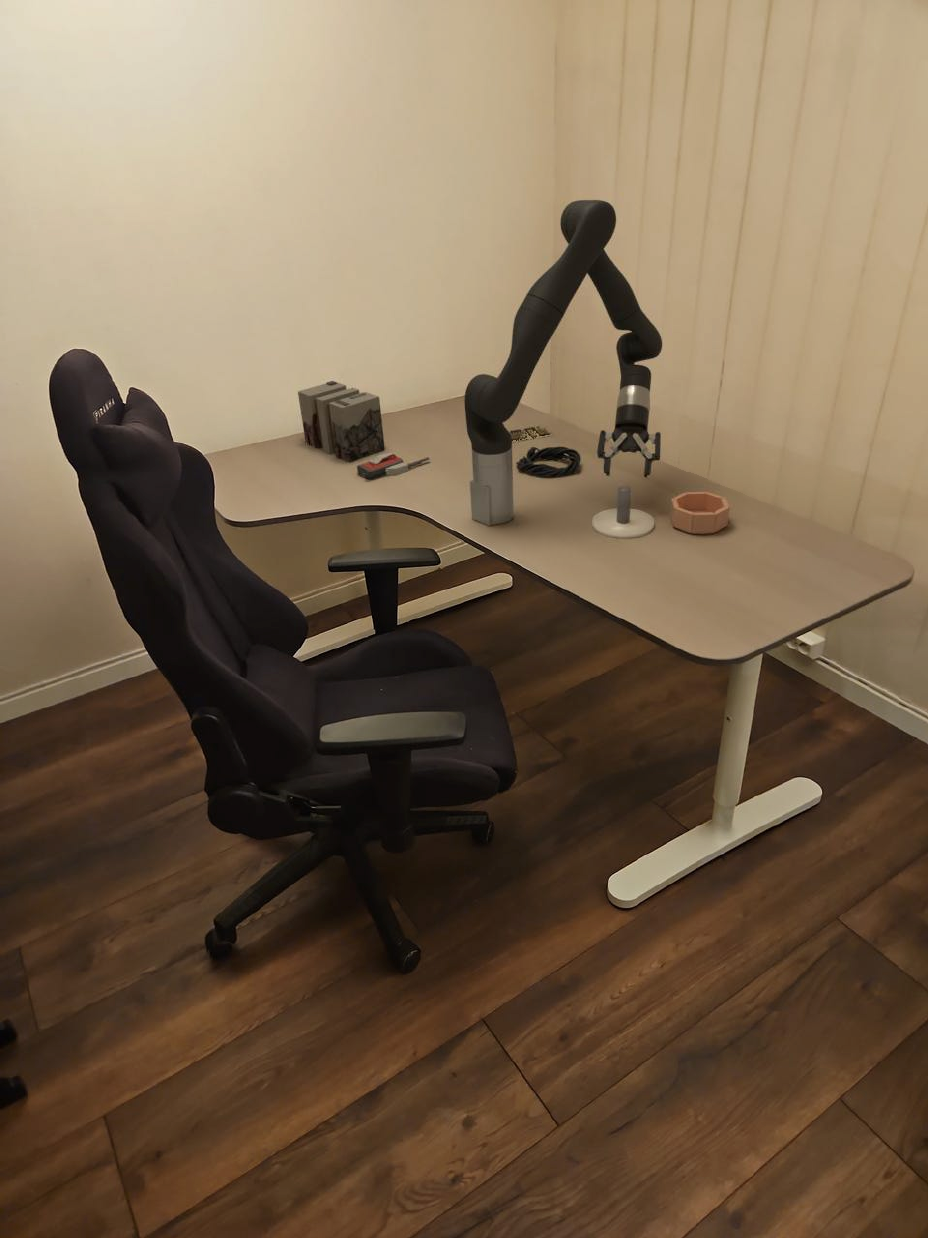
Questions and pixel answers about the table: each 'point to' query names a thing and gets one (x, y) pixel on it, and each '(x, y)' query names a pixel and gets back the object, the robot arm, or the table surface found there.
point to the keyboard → (522, 434)
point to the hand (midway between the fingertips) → (626, 475)
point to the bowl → (699, 512)
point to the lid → (623, 519)
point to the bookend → (342, 420)
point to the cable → (550, 454)
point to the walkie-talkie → (385, 466)
